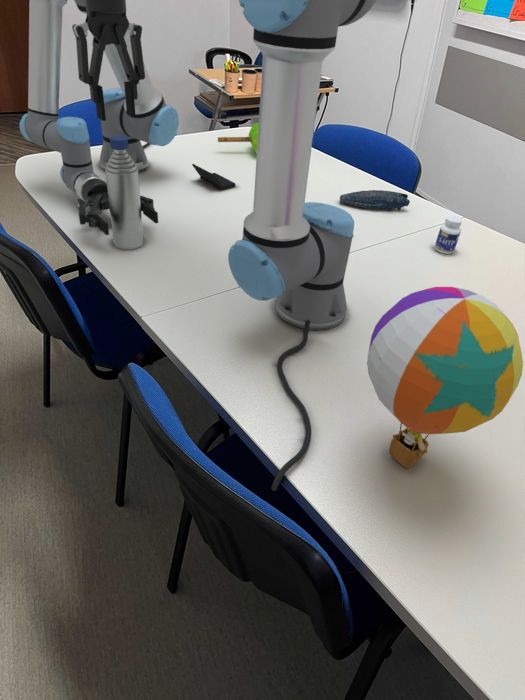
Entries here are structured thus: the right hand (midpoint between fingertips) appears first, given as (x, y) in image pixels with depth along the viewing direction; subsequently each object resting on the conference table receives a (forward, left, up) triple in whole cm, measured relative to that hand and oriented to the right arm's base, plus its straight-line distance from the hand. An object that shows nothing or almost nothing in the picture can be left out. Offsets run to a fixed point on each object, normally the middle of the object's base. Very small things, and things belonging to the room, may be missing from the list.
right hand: (116, 117), depth 112 cm
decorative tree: (+79, -21, -30) cm, 87 cm away
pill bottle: (+20, -81, -30) cm, 89 cm away
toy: (-56, -66, -30) cm, 91 cm away
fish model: (+44, -62, -30) cm, 82 cm away
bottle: (0, 0, -30) cm, 30 cm away
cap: (0, 0, -5) cm, 5 cm away
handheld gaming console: (+45, -12, -30) cm, 55 cm away
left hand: (-2, -2, -23) cm, 24 cm away
